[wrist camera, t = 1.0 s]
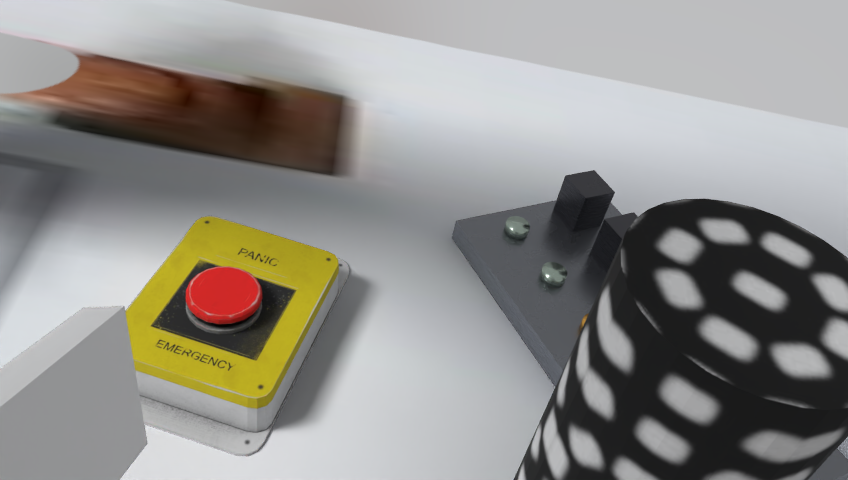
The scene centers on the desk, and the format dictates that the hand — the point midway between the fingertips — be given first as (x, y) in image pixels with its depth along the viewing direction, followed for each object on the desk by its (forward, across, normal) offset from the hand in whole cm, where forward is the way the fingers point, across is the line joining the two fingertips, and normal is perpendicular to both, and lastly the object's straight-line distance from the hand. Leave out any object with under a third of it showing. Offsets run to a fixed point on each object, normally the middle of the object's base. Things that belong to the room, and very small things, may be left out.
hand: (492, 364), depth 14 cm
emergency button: (+28, -14, -10) cm, 34 cm away
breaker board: (+33, +8, -14) cm, 36 cm away
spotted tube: (+18, +3, -20) cm, 27 cm away
